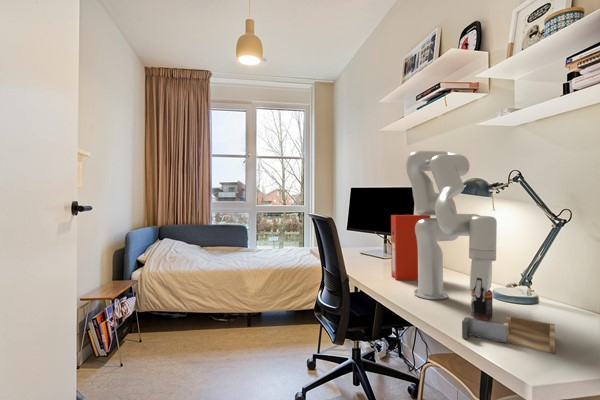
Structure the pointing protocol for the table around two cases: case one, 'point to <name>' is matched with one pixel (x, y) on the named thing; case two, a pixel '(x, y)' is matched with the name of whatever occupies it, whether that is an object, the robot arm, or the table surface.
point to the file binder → (404, 246)
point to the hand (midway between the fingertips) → (481, 309)
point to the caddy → (530, 333)
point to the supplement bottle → (488, 306)
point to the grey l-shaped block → (484, 329)
